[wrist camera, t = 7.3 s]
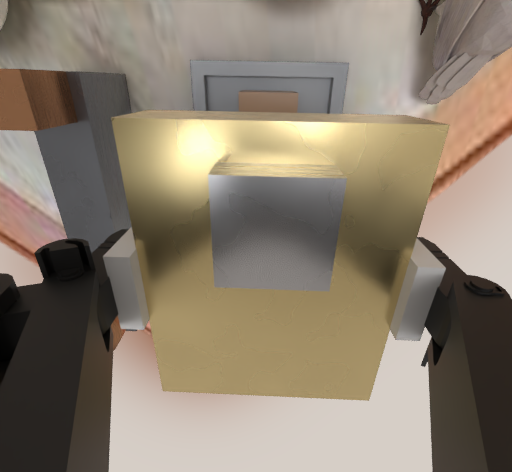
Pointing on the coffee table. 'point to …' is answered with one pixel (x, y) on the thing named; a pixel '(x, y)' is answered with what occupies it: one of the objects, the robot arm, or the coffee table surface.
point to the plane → (74, 146)
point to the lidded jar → (3, 12)
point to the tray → (268, 86)
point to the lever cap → (274, 243)
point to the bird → (464, 41)
